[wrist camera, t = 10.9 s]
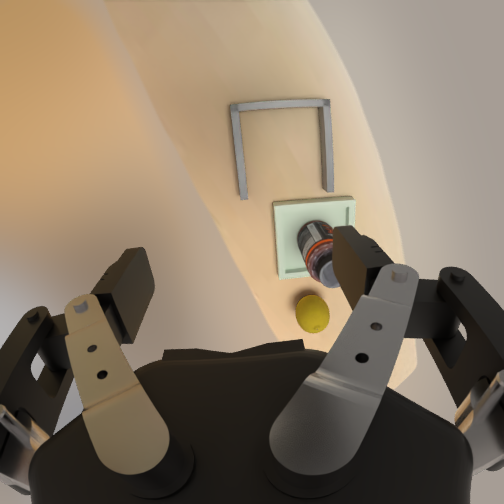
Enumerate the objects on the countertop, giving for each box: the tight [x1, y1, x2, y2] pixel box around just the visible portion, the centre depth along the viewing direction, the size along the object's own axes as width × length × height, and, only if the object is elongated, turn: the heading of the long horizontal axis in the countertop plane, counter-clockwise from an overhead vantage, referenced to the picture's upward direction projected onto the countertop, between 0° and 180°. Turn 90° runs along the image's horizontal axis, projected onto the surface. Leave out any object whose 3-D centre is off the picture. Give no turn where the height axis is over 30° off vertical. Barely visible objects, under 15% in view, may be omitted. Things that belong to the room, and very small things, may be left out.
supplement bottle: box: [297, 220, 340, 288], centre depth 39 cm, size 6×6×11 cm
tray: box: [273, 196, 356, 280], centre depth 44 cm, size 12×12×2 cm
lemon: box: [296, 295, 330, 333], centre depth 46 cm, size 6×6×8 cm
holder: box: [230, 99, 334, 200], centre depth 37 cm, size 13×13×2 cm
